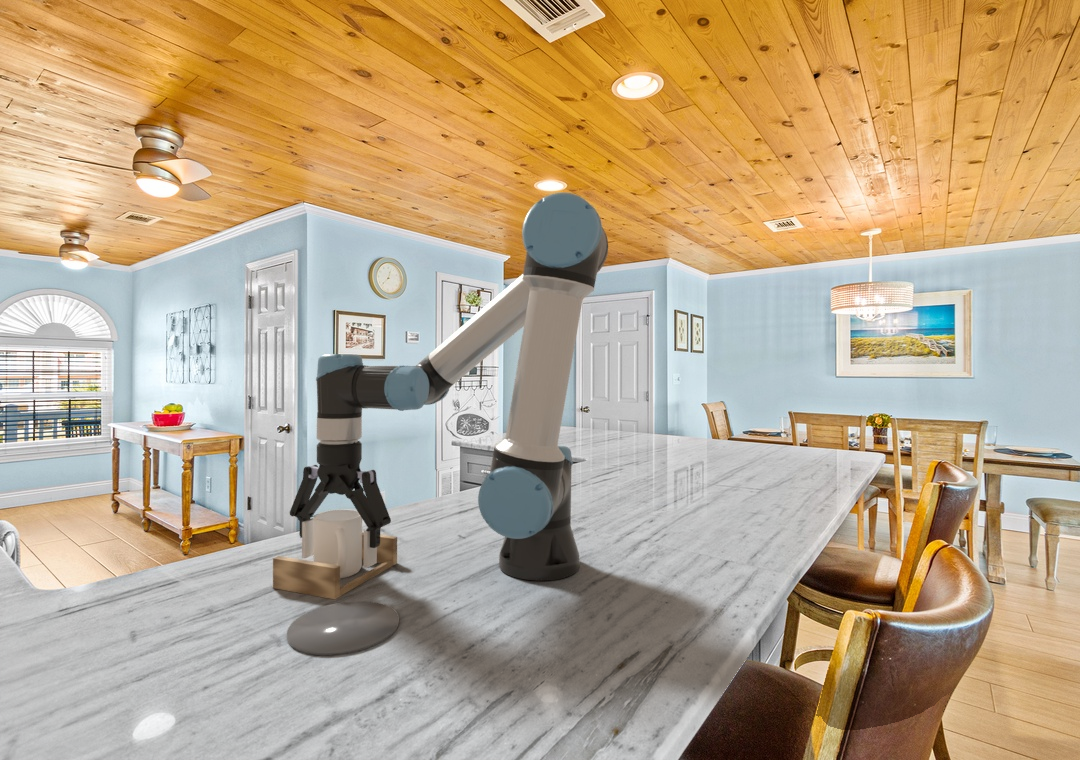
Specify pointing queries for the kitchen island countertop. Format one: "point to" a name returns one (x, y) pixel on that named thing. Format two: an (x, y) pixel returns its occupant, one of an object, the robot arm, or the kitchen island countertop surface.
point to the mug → (339, 540)
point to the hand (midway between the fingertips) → (338, 560)
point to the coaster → (342, 628)
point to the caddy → (328, 572)
